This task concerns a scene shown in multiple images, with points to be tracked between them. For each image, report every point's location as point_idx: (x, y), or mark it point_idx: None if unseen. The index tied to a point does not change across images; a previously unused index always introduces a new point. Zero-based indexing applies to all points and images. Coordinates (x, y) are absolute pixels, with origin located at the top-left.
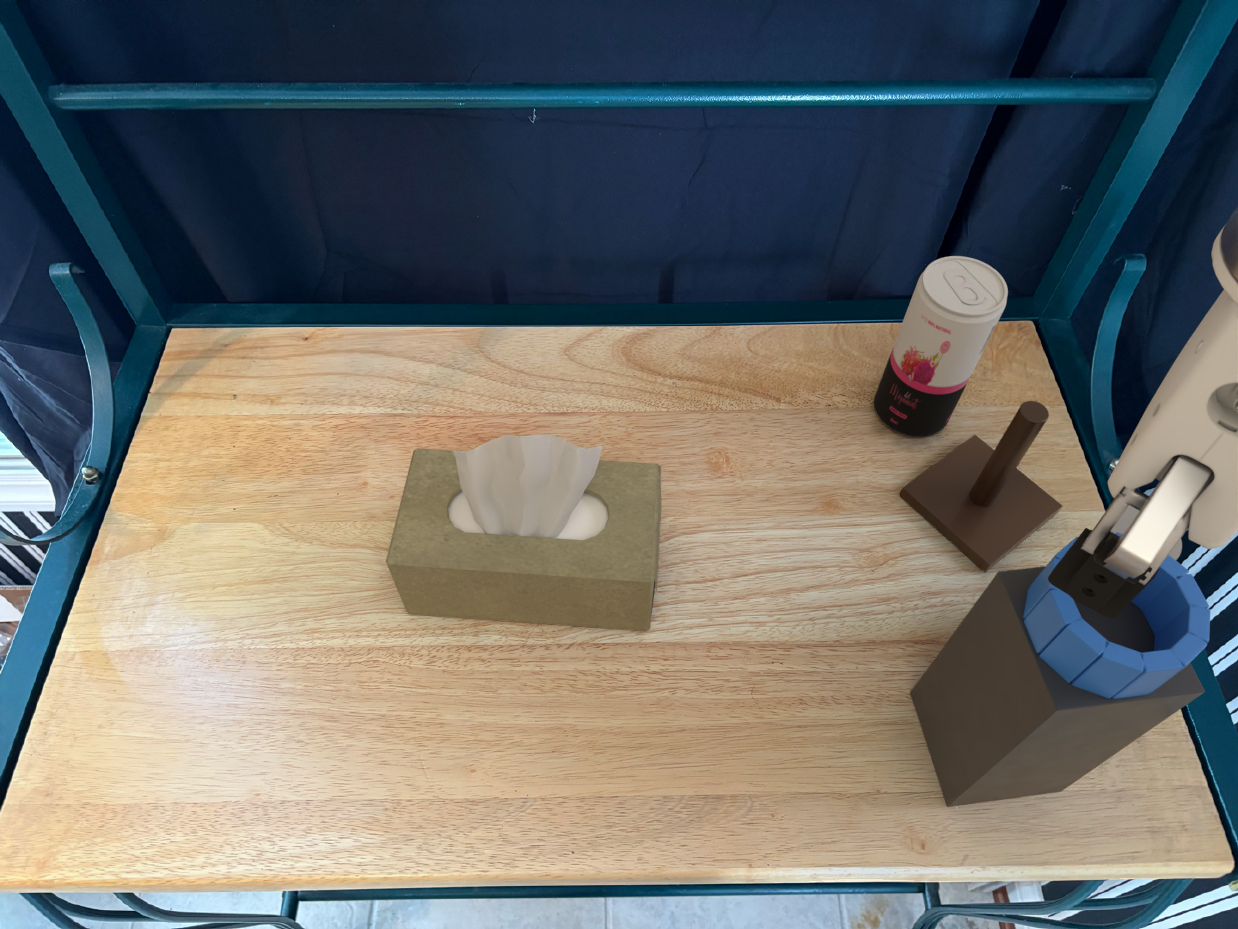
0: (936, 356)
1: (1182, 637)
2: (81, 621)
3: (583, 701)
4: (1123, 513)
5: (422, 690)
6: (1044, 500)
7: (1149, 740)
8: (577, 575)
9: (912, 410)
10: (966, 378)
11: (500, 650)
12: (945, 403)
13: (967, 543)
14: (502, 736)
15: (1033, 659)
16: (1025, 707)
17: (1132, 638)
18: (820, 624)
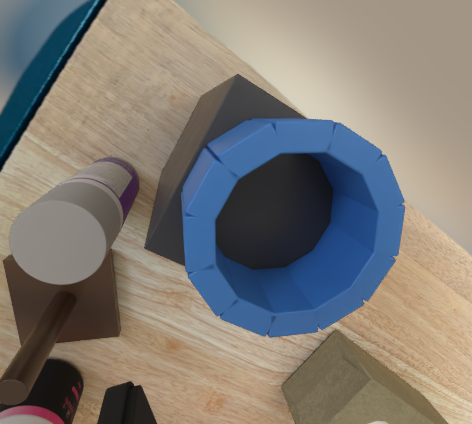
0: None
1: (297, 153)
2: None
3: (391, 312)
4: (57, 275)
5: (443, 356)
6: (15, 272)
7: (107, 74)
8: (403, 402)
9: (68, 395)
10: (13, 417)
11: (402, 357)
12: (40, 393)
13: (110, 276)
14: (433, 317)
15: None
16: None
17: (249, 177)
18: None
